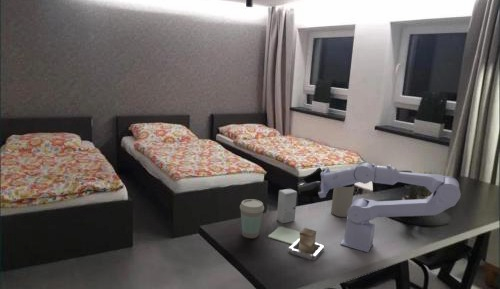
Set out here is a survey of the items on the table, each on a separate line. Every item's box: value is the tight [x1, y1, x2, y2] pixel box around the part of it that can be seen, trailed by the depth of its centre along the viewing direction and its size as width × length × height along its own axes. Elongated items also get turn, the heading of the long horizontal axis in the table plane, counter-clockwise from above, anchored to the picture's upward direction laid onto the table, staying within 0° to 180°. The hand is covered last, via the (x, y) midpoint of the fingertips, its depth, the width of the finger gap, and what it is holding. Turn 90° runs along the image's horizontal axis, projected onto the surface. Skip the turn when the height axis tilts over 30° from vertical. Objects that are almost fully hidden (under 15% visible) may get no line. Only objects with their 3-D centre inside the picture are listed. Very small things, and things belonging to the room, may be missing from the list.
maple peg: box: [298, 227, 317, 254], centre depth 125 cm, size 4×4×7 cm
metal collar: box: [288, 238, 325, 261], centre depth 125 cm, size 9×9×2 cm
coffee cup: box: [239, 198, 265, 239], centre depth 133 cm, size 9×9×12 cm
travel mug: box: [330, 183, 356, 218], centre depth 156 cm, size 8×8×18 cm
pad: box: [267, 225, 301, 246], centre depth 135 cm, size 10×10×1 cm
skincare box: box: [276, 188, 298, 224], centre depth 147 cm, size 6×4×12 cm
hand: (303, 186), depth 137 cm, fingers open, 7 cm apart
